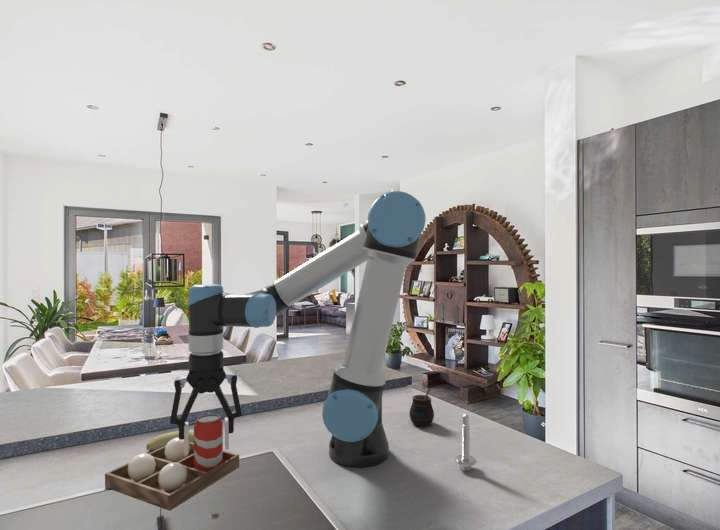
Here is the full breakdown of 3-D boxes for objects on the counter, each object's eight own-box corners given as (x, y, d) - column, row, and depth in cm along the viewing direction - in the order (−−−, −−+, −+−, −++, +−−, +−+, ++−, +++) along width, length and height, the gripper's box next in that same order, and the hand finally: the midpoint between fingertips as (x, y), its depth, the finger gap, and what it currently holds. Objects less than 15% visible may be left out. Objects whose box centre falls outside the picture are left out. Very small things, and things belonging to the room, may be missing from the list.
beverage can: (203, 478, 97) (202, 424, 97) (189, 469, 102) (189, 417, 102) (227, 469, 102) (227, 417, 102) (213, 460, 106) (213, 411, 106)
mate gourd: (404, 425, 130) (404, 391, 130) (416, 417, 136) (416, 385, 136) (426, 430, 126) (427, 395, 126) (438, 422, 132) (438, 389, 132)
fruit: (153, 442, 118) (153, 430, 118) (212, 438, 121) (211, 426, 121) (145, 454, 111) (145, 441, 111) (207, 450, 114) (207, 437, 114)
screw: (452, 470, 102) (457, 462, 107) (473, 475, 100) (477, 466, 104) (452, 415, 102) (457, 409, 106) (474, 419, 100) (478, 412, 104)
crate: (239, 467, 104) (239, 454, 104) (169, 510, 86) (169, 495, 86) (179, 450, 113) (179, 439, 113) (105, 487, 95) (104, 473, 95)
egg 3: (192, 486, 94) (192, 460, 94) (171, 499, 89) (171, 472, 89) (174, 480, 97) (174, 455, 97) (152, 493, 92) (152, 466, 92)
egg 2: (194, 458, 107) (194, 436, 107) (176, 468, 102) (175, 445, 102) (178, 454, 110) (178, 432, 109) (159, 463, 105) (159, 440, 104)
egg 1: (161, 476, 98) (161, 451, 98) (139, 488, 93) (139, 462, 93) (144, 471, 101) (144, 447, 101) (122, 482, 96) (121, 457, 96)
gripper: (251, 345, 108) (252, 437, 108) (158, 351, 101) (159, 449, 102) (254, 351, 101) (254, 450, 101) (154, 358, 94) (155, 463, 95)
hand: (206, 449), depth 101 cm, fingers open, 8 cm apart
